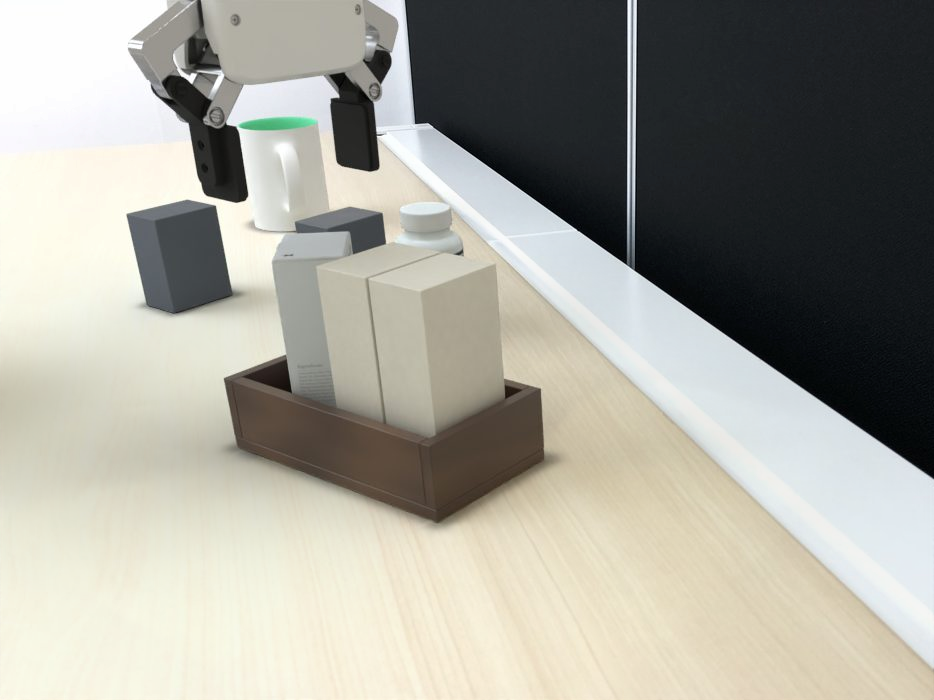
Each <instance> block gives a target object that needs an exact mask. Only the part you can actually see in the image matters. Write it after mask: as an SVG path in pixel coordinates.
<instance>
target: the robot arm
mask: <svg viewBox="0 0 934 700" xmlns="http://www.w3.org/2000/svg"><path fill="white" fill-rule="evenodd" d="M166 8H167V10H165V11H164V12H163V13H162V14H160V15H159V16H158V17H156V18H155V19H154V20H153V21H152V22H151V23H149V24H148V25H147V26H145V27H144V28H143V29H142V30H140V31H139V32H138V33H136V34H135V35H134V36H132V37H131V38H130V40H129V41H128V43H127V51H128V53H129V55H130V57H131V58H132V60H133V61H134V63H135V64H136V66H137V67H138V69H139V70H140V72H141V73H142V74H143V76H144V78H145V79H146V80H147V81H148V82H149V83H150V89H151V91H152V94H154V96H156V97H157V98H158V99H159V100H160V101H161V102H163V103H164V104H165V105H166V106H167V107H169V108H170V109H171V110H172V111H173V112H174V113H175V116H176V118H177V120H178V121H180V122H182V123H185V124H188V129H189V135H190V140H191V147H192V153H193V158H194V164H195V169H196V171H195V172H196V175H197V179H198V181H199V183H200V184H201V190H202V192H203V194H204V196H206V197H208V198H213V199H216V200H222V201H224V202H225V201H226V202H230V203H235V204H239V203H243V202H246V201H247V199H248V198H249V188H248V182H247V176H246V170H245V164H244V159H243V153H242V147H241V141H240V135H239V130H238V126H236V125H230V124H228V123H227V121H228V119H229V117H230V115H231V113H232V111H233V109H234V107H235V105H236V103H237V100H238V98H239V96H240V95H241V92H242V90H243V87H244V86H254V85H264V84H272V83H273V84H274V83H280V82H286V81H296V80H301V79H308V78H315V77H324V78H325V80H326V82H328V83H329V85H330V86H331V87H332V88H333V90H334V91H335V92H336V94H338V97H331V98H330V104H329V108H330V118H331V127H332V136H333V145H334V154H335V161H336V163H337V165H339V166H340V167H343V168H348V169H353V170H358V171H363V172H368V173H372V172H377V171H378V170H380V167H381V166H380V165H381V163H380V154H379V144H378V143H379V142H378V132H377V121H376V109H375V103H377V102H378V101H380V100H381V99H382V96H383V87H382V84H383V82H384V81H385V78H386V77H387V75H388V73H389V71H390V69H391V67H392V63H393V60H392V58H393V57H392V55H391V53H393V51H394V46H395V42H396V39H397V35H398V31H399V25H400V24H399V21H398V19H397V18H396V17H395V16H394V15H392V14H391V13H389V12H387V11H386V10H384V9H383V8H381V7H379V6H378V5H376V4H375V3H373V2H371V1H370V0H166ZM174 59H175V61H174ZM175 62H176V63H175ZM176 64H177V65H176ZM178 69H179V70H180V71H181V72H182V73H183V74H185V75H187V76H189V77H188V79H187V78H186V77H184V76H182V74H181V73H180V72H179V70H178Z"/></svg>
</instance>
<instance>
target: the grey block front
mask: <svg viewBox="0 0 934 700" xmlns="http://www.w3.org/2000/svg"><path fill="white" fill-rule="evenodd" d="M384 221H385V220H384V213H383V212H382V211H375V210H369V209H365V208H359V207H353V206H346V207H343V208H340V209H337V210H335V209H334V210H331V211H330V212H328V213H324V214H321V215H317V216H313V217H310V218H306V219H302V220H299V221H295V228H296V231H295V234H297V233H323V232H346V231H348V232H350V237H351V244H352V251H353V254H356V253H360V252H363V251H366V250H369V249H372V248H375V247H379V246H382V245H385V244H387V239H386V237H387V236H386V229H385V222H384Z"/></svg>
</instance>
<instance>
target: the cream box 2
mask: <svg viewBox="0 0 934 700" xmlns="http://www.w3.org/2000/svg"><path fill="white" fill-rule="evenodd" d="M497 274H498V273H497V263H495V262H491V261H487V260H482V259H476V258H472V257H467V256H464V257H463V256H458V255H453V254H449V253H442V254H439V255H436V256H433V257H430V258H427V259H424V260H421V261H418V262H415V263H412V264H409V265H407V266H404V267H401V268H398V269H395V270H392V271H389V272H386V273H383V274H380V275H377V276H374V277H371V278H369V279H368V281H369V289H370V297H371V305H372V313H373V321H374V328H375V336H376V344H377V352H378V360H379V368H380V376H381V384H382V392H383V400H384V407H385V415H386V423H387V424H388V425H391V426H394V427H397V428H400V429H403V430H406V431H409V432H412V433H415V434H418V435H421V436H424V437H427V438H430V437H432V436H434V435H436V434H438V433H440V432H442V431H444V430H446V429H448V428H450V427H452V426H454V425H456V424H458V423H460V422H462V421H464V420H466V419H468V418H469V417H471V416H473V415H475V414H477V413H479V412H481V411H483V410H485V409H487V408H489V407H491V406H493V405H495V404H497V403H499V402H501V401H503V400H505V386H504V379H505V374H504V360H503V346H502V332H501V331H502V330H501V317H500V303H499V290H498V289H499V288H498V287H499V286H498V275H497Z"/></svg>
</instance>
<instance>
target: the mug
mask: <svg viewBox="0 0 934 700" xmlns="http://www.w3.org/2000/svg"><path fill="white" fill-rule="evenodd" d="M237 129H238V131H239V135H240V141H241V148H242V155H243V161H244V168H245V175H246V181H247V188H248V194H249V198H250V205H251V211H252V217H253V223H254V226H255V228H257V229H259V230H261V231H268V232H296V228H295V221H299V220H302V219H306V218H310V217H313V216H317V215H321V214H324V213H328V212H331V209H330V201H329V194H328V187H327V180H326V173H325V165H324V158H323V152H322V143H321V137H320V136H321V135H320V131H319V130H320V129H319V122H318V120H317V119H315V118H312V117H306V116H274V117H264V118H256V119H252V120H246V121H243V122H240V123H239V124H238V125H237Z"/></svg>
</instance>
